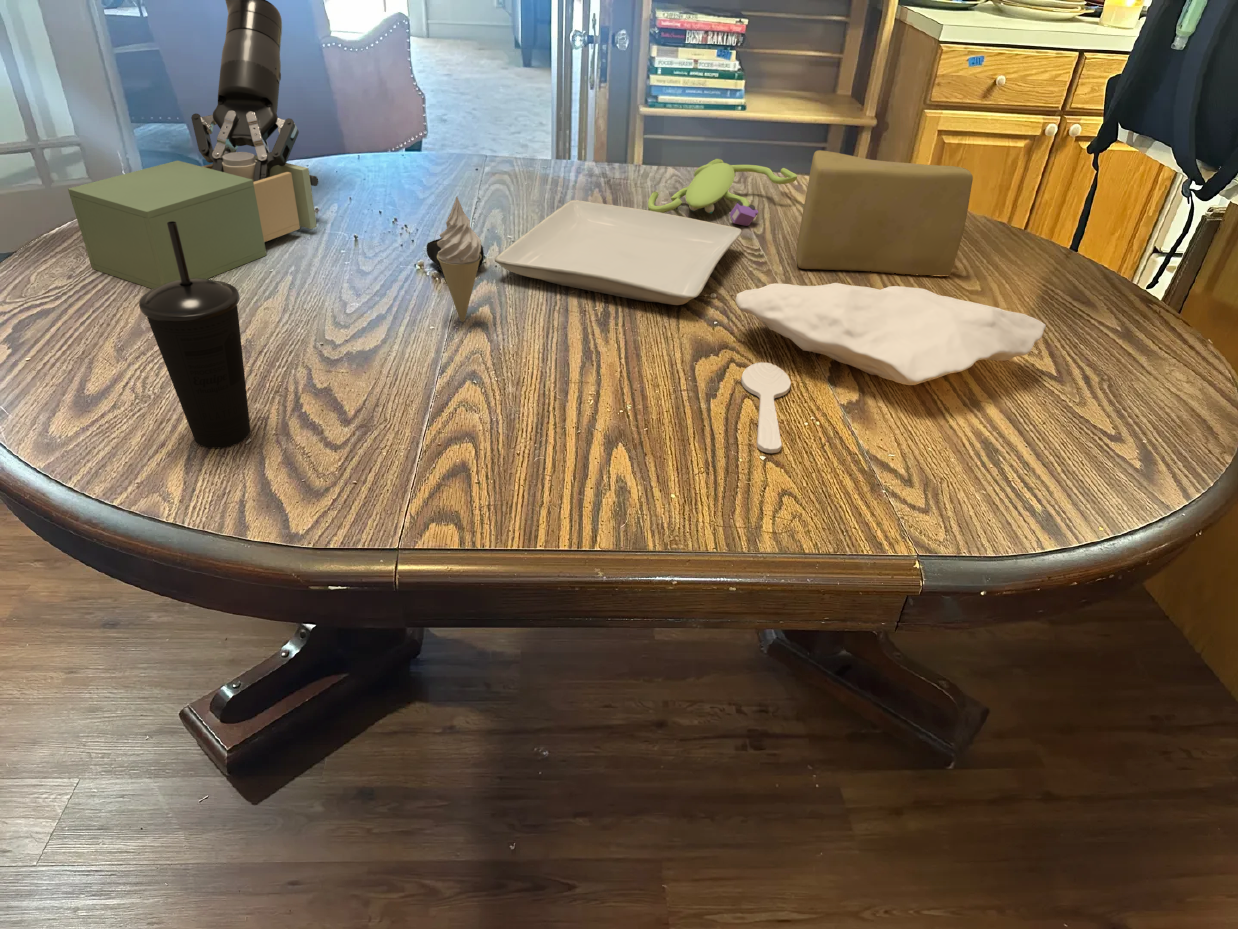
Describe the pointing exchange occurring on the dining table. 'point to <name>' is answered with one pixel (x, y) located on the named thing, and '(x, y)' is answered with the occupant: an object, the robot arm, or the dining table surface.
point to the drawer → (285, 200)
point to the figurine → (719, 190)
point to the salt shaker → (239, 164)
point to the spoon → (766, 401)
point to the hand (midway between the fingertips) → (239, 189)
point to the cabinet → (149, 198)
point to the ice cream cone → (459, 257)
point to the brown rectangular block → (882, 215)
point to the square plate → (621, 251)
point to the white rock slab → (892, 328)
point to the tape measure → (434, 249)
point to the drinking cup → (201, 351)
